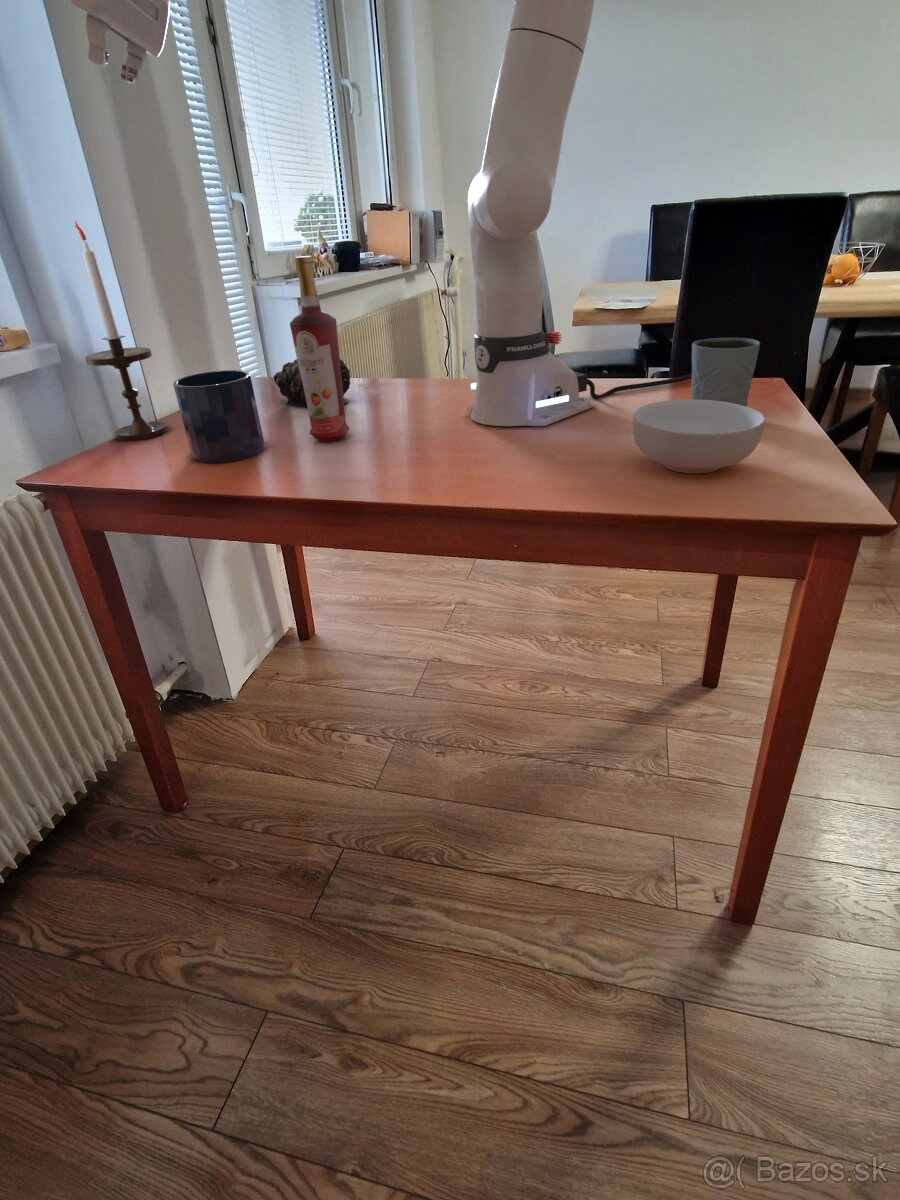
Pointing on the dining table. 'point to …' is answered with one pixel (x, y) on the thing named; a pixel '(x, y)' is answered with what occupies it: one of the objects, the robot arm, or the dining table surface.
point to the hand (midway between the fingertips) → (113, 73)
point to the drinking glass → (723, 369)
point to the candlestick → (118, 354)
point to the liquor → (318, 359)
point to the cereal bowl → (697, 433)
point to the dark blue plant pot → (220, 415)
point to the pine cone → (293, 384)
